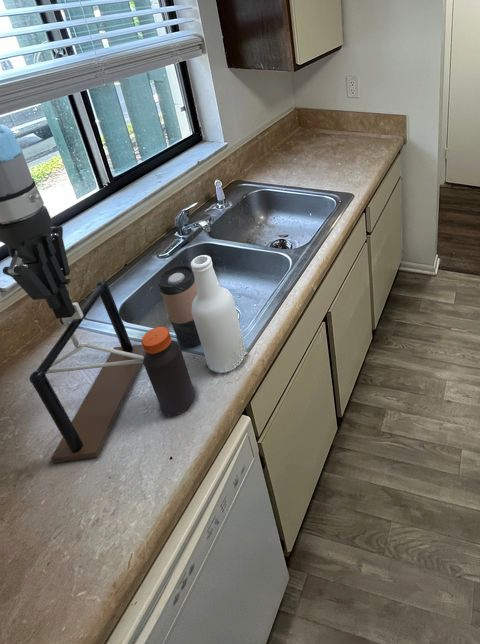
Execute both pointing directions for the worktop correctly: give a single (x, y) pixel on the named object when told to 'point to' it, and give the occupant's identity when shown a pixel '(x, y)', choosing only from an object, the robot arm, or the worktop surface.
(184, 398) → the bottle
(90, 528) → the worktop surface
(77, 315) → the hanger
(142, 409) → the worktop surface
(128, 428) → the worktop surface
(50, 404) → the rail
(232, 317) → the alcohol
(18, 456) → the worktop surface
